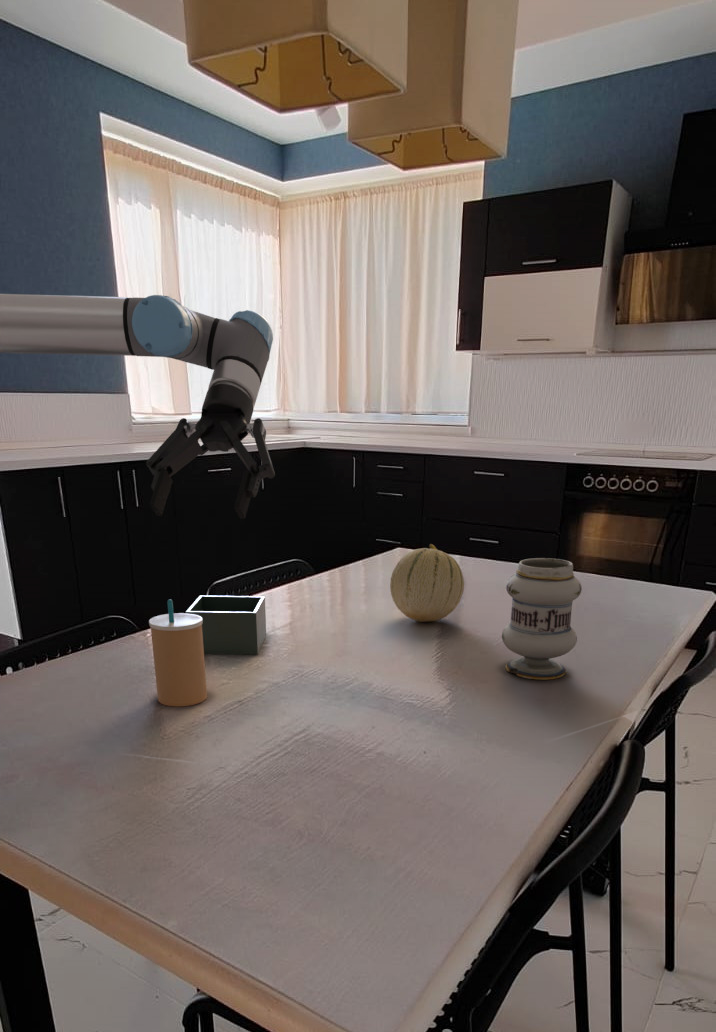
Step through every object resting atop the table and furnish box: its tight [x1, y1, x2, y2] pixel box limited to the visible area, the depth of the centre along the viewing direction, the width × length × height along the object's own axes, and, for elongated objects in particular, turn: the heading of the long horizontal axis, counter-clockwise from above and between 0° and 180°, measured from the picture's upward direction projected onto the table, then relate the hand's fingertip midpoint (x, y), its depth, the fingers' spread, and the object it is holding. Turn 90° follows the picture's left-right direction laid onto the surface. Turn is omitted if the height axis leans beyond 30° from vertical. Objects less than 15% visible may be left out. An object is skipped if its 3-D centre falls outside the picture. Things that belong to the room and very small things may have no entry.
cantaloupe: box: [389, 543, 465, 623], centre depth 155 cm, size 15×15×15 cm
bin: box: [185, 595, 267, 656], centre depth 139 cm, size 12×12×8 cm
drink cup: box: [148, 598, 208, 707], centre depth 112 cm, size 8×8×15 cm
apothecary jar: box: [501, 557, 583, 681], centre depth 125 cm, size 12×12×18 cm
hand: (196, 511), depth 113 cm, fingers open, 13 cm apart
